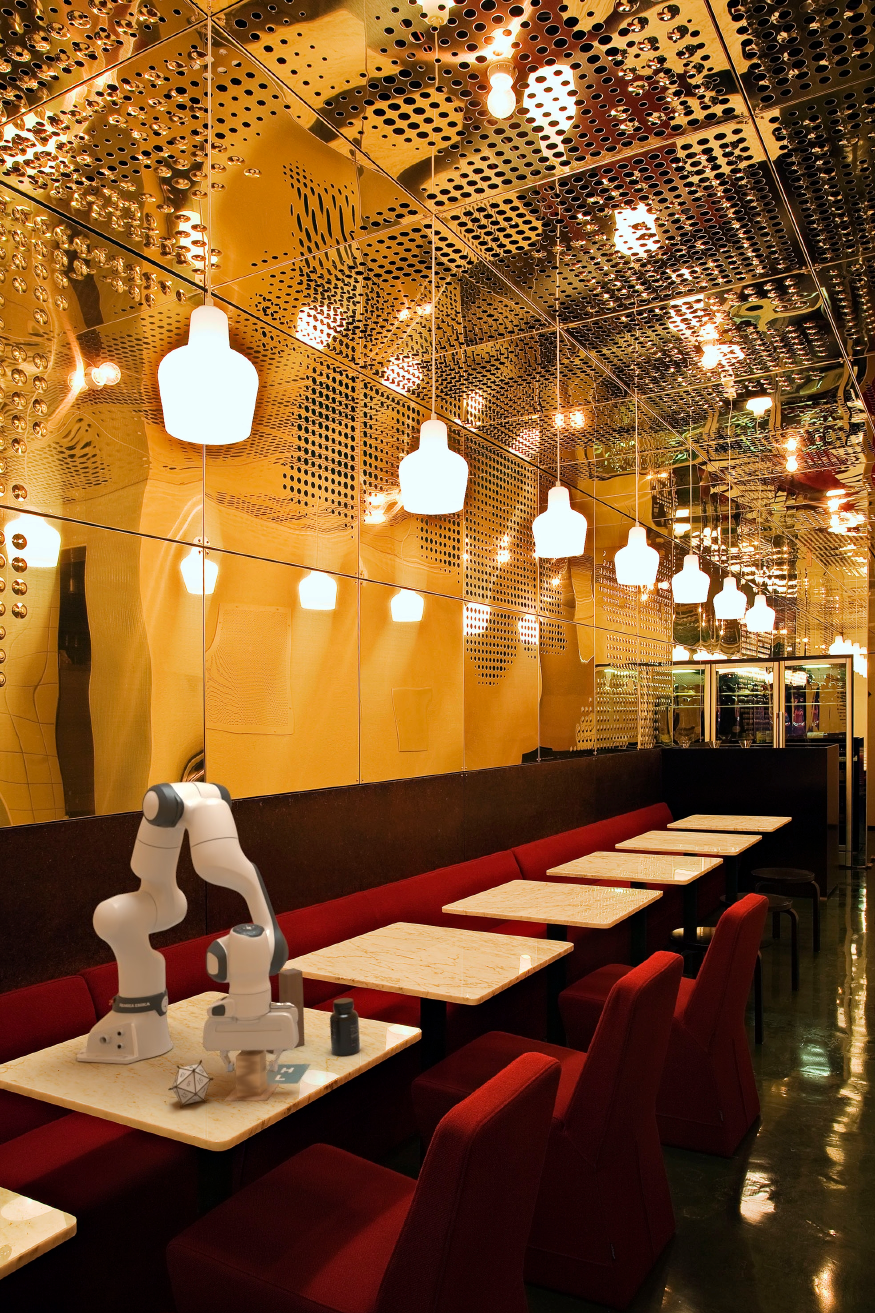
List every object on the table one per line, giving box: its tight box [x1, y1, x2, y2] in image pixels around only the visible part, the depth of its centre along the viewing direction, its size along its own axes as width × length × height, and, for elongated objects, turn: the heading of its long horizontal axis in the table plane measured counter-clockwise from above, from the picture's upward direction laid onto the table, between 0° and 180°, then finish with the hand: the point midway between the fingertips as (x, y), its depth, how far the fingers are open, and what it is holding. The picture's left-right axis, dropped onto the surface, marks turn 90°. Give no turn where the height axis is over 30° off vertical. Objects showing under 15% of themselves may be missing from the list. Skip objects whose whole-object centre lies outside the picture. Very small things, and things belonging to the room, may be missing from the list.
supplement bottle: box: [329, 997, 361, 1057], centre depth 208 cm, size 7×7×12 cm
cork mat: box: [224, 1084, 280, 1103], centre depth 184 cm, size 9×9×1 cm
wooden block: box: [266, 967, 305, 1055], centre depth 214 cm, size 9×4×18 cm, turn 129°
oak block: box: [235, 1050, 268, 1096], centre depth 185 cm, size 5×5×8 cm
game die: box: [167, 1059, 215, 1109], centre depth 181 cm, size 9×8×10 cm
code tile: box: [267, 1063, 311, 1085], centre depth 195 cm, size 9×12×1 cm
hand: (251, 1071), depth 185 cm, fingers open, 8 cm apart
